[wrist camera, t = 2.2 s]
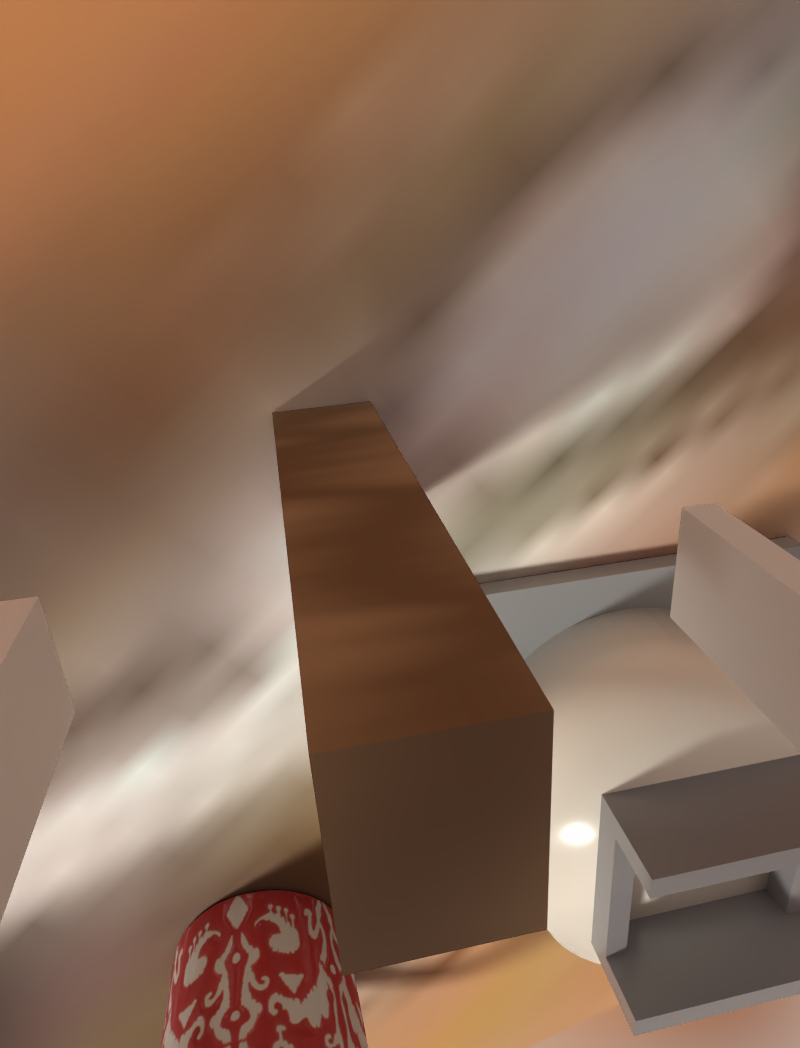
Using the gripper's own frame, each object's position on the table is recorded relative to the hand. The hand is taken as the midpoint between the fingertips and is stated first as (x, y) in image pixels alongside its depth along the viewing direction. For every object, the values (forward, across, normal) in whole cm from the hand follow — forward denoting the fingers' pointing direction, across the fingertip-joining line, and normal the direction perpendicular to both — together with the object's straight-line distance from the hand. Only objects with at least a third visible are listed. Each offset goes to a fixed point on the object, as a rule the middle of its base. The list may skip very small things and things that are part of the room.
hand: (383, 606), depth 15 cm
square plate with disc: (+9, +10, -12) cm, 18 cm away
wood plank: (+9, 0, 0) cm, 9 cm away
